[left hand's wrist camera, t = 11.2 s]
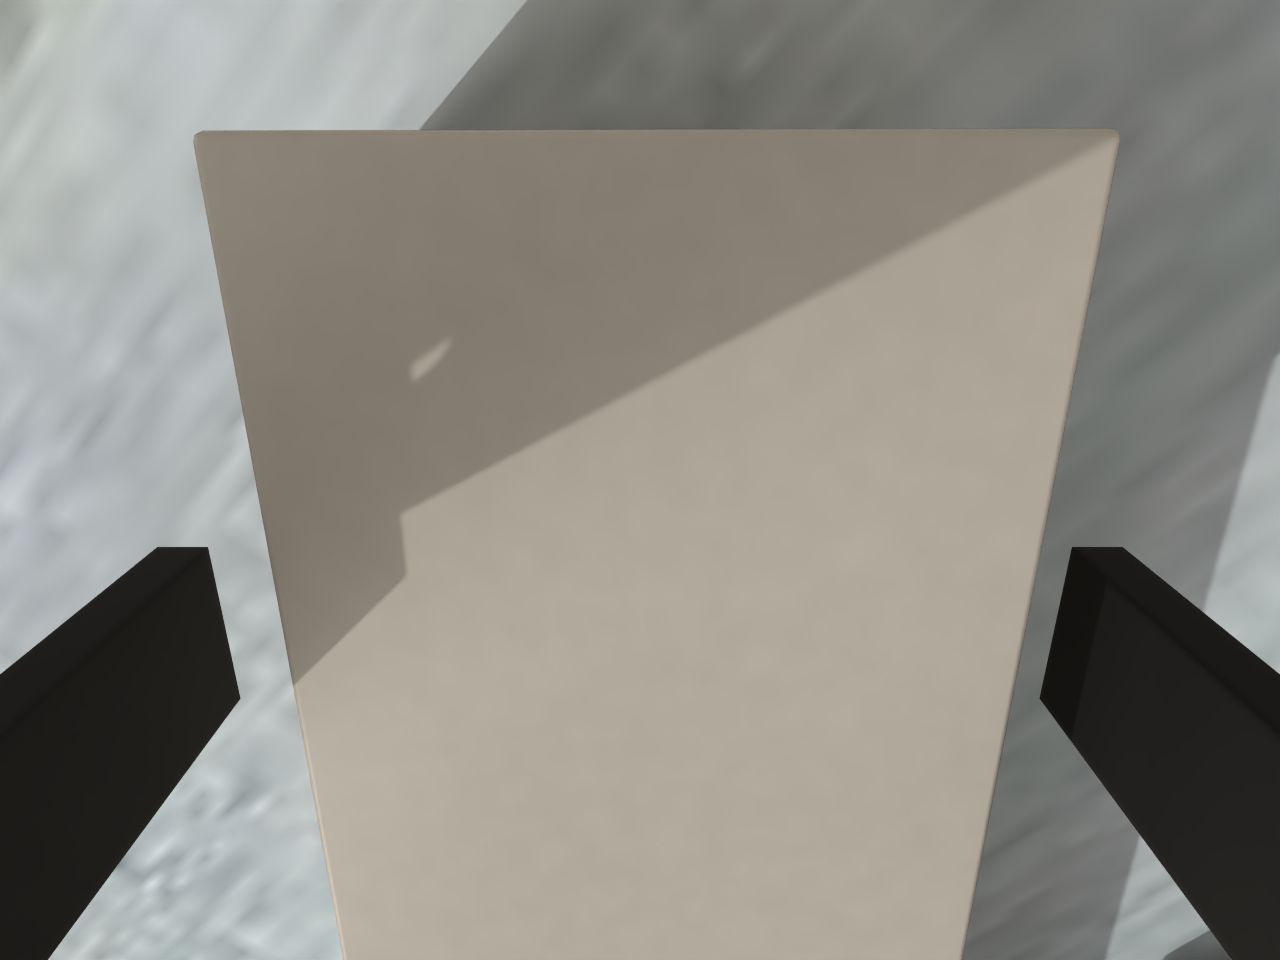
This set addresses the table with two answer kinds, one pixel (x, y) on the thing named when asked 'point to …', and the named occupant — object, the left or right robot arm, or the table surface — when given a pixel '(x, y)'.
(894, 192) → the wide beam
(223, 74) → the table surface
